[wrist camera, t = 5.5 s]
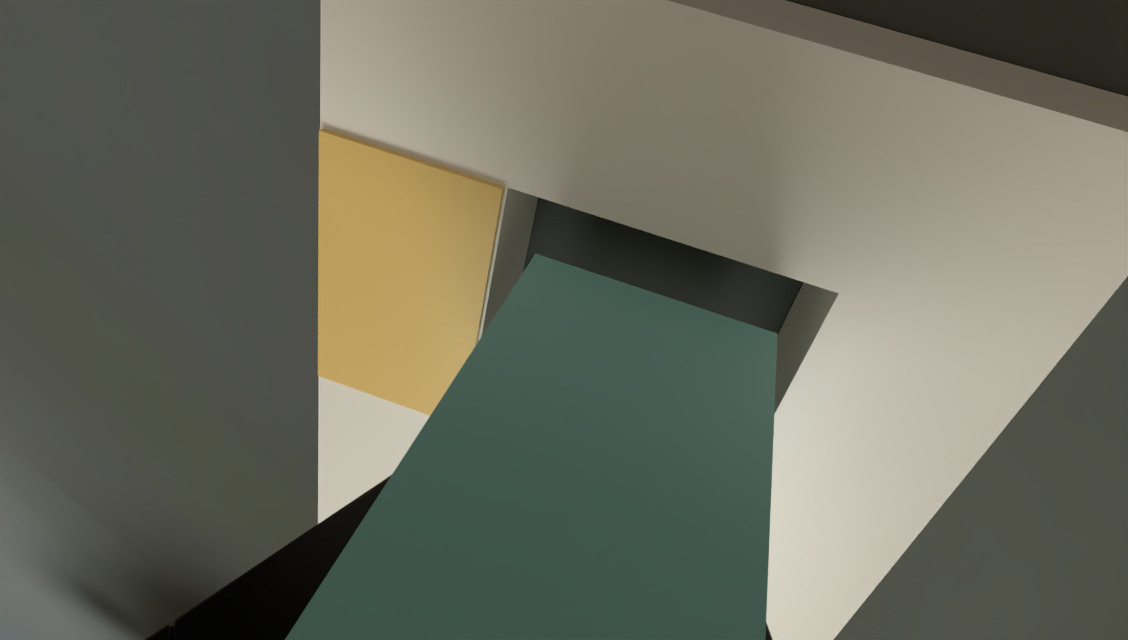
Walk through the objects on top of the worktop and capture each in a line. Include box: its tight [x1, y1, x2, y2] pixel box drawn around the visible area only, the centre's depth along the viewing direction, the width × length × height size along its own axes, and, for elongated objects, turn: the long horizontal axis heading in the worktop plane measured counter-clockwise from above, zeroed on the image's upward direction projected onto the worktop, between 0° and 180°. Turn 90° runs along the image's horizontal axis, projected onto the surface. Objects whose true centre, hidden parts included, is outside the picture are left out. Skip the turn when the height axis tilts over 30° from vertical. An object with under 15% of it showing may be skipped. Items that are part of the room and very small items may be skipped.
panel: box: [318, 0, 1128, 640], centre depth 18 cm, size 12×26×3 cm, turn 168°
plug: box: [285, 253, 778, 640], centre depth 9 cm, size 4×4×10 cm
